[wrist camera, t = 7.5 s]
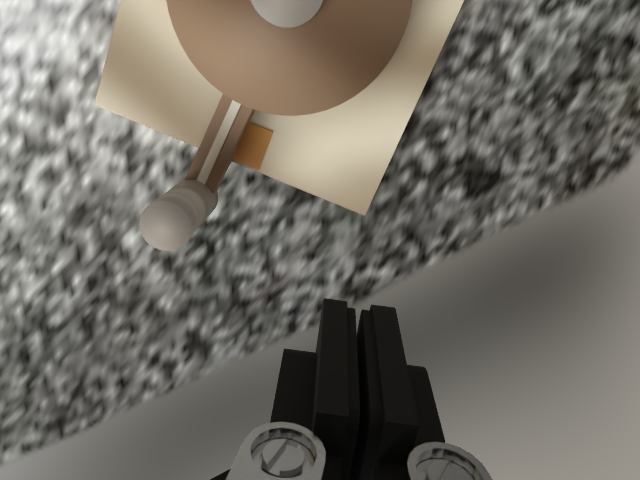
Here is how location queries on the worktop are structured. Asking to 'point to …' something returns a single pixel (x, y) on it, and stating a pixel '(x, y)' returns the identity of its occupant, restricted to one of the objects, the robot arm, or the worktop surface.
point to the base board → (269, 129)
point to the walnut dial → (267, 80)
